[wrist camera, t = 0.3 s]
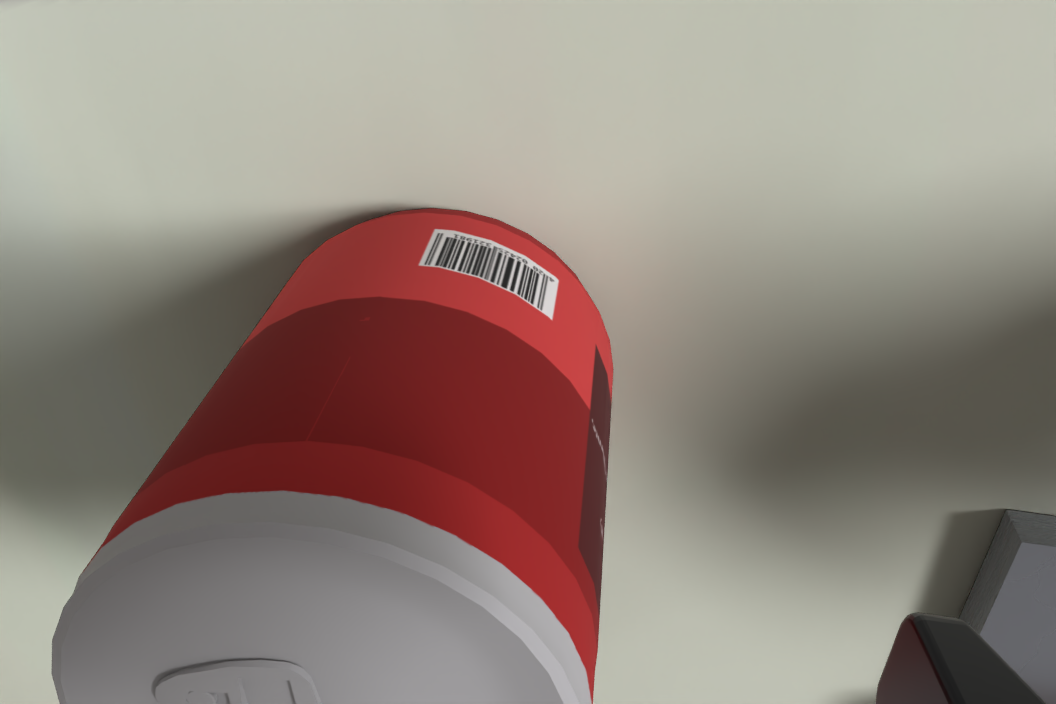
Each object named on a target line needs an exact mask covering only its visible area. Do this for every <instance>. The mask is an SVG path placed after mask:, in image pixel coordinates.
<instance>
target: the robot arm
mask: <svg viewBox="0 0 1056 704" xmlns="http://www.w3.org/2000/svg"><path fill="white" fill-rule="evenodd" d="M876 704H1047V703H1046V702H1045V701H1044V700H1043V699H1042V698H1041V697H1040V696H1039V695H1038V694H1037V693H1036V692H1035V691H1034V690H1033V689H1032V688H1031V687H1030V686H1029V685H1028V684H1027V683H1026V682H1025V681H1024V680H1023V679H1022V678H1021V677H1020V676H1019V675H1018V674H1017V673H1016V672H1015V671H1014V670H1013V669H1012V668H1011V667H1010V666H1009V665H1008V664H1007V663H1006V662H1005V660H1004V659H1003V658H1002V657H1001V656H1000V655H999V654H998V653H997V652H996V651H995V650H994V649H993V648H992V647H991V646H990V645H989V644H988V643H987V642H986V641H985V640H984V639H983V638H982V637H981V636H980V635H979V634H978V633H977V632H976V631H975V630H974V629H973V628H972V627H971V626H970V625H969V624H967V623H966V622H965V621H963V620H961V619H958V618H955V617H947V616H940V615H932V614H925V613H912V614H910V615H908V616H907V617H906V618H905V619H904V620H903V622H902V623H901V625H900V628H899V630H898V633H897V636H896V638H895V641H894V644H893V646H892V649H891V652H890V654H889V657H888V660H887V662H886V665H885V667H884V670H883V673H882V675H881V678H880V681H879V684H878V688H877V694H876Z"/></svg>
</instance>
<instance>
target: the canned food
mask: <svg viewBox="0 0 1056 704" xmlns="http://www.w3.org/2000/svg"><path fill="white" fill-rule="evenodd" d="M612 382H613V363H612V355H611V347H610V340H609V337H608V334H607V332H606V329H605V326H604V323H603V321H602V318H601V315H600V313H599V311H598V309H597V307H596V306H595V304H594V303H593V301H592V299H591V298H590V296H589V295H588V293H587V291H586V290H585V288H584V287H583V285H582V284H581V282H580V281H579V279H578V277H577V276H576V274H575V273H574V272H573V271H572V270H571V269H570V268H569V267H568V266H567V265H566V264H565V263H564V262H563V261H562V260H561V259H560V258H559V257H558V256H557V255H556V254H555V253H554V252H553V251H552V250H550V249H549V248H547V247H546V246H545V245H543V244H542V243H540V242H539V241H538V240H536V239H535V238H533V237H532V236H530V235H529V234H528V233H525V232H523V231H521V230H519V229H517V228H515V227H512V226H510V225H508V224H506V223H504V222H502V221H500V220H497V219H493V218H490V217H486V216H482V215H478V214H475V213H471V212H467V211H459V210H448V209H436V208H428V209H418V210H407V211H399V212H395V213H392V214H388V215H385V216H381V217H378V218H374V219H371V220H368V221H365V222H363V223H360V224H358V225H355V226H353V227H351V228H349V229H348V230H346V231H344V232H342V233H340V234H338V235H336V236H334V237H332V238H330V239H328V240H327V241H326V242H324V243H323V244H322V245H321V246H320V247H318V248H317V249H316V250H315V251H314V252H312V253H311V254H310V255H309V256H308V257H307V258H305V259H304V260H303V262H302V263H301V264H300V266H299V267H298V268H297V270H296V271H295V272H294V274H293V275H292V276H291V278H290V279H289V280H288V282H287V283H286V285H285V286H284V287H283V289H282V290H281V292H280V293H279V294H278V296H277V297H276V299H275V300H274V301H273V303H272V304H271V306H270V307H269V308H268V310H267V311H266V313H265V314H264V315H263V317H262V318H261V320H260V321H259V322H258V324H257V325H256V327H255V328H254V329H253V331H252V332H251V334H250V335H249V336H248V338H247V339H246V341H245V342H244V343H243V345H242V346H241V348H240V349H239V350H238V352H237V353H236V355H235V356H234V357H233V359H232V360H231V362H230V363H229V364H228V366H227V367H226V369H225V370H224V371H223V373H222V374H221V376H220V377H219V378H218V380H217V381H216V383H215V384H214V385H213V387H212V388H211V390H210V391H209V392H208V394H207V395H206V397H205V398H204V399H203V401H202V402H201V404H200V405H199V406H198V408H197V409H196V411H195V412H194V413H193V415H192V416H191V418H190V419H189V420H188V422H187V423H186V425H185V426H184V427H183V429H182V430H181V432H180V433H179V434H178V436H177V437H176V439H175V440H174V441H173V443H172V444H171V446H170V447H169V448H168V450H167V451H166V453H165V454H164V455H163V457H162V458H161V460H160V461H159V462H158V464H157V465H156V467H155V468H154V469H153V471H152V472H151V474H150V475H149V476H148V478H147V479H146V481H145V482H144V483H143V485H142V486H141V488H140V489H139V490H138V492H137V493H136V495H135V496H134V497H133V499H132V500H131V502H130V503H129V504H128V506H127V507H126V509H125V510H124V511H123V513H122V514H121V516H120V517H119V518H118V520H117V521H116V523H115V524H114V525H113V527H112V529H111V530H110V532H109V534H108V536H107V538H106V539H105V541H104V542H103V544H102V545H101V547H100V548H99V549H98V551H97V552H96V554H95V555H94V557H93V558H92V559H91V561H90V562H89V564H88V565H87V567H86V568H85V569H84V571H83V572H82V574H81V575H80V576H79V579H78V581H77V584H76V587H75V590H74V593H73V595H72V596H71V597H70V599H69V600H68V602H67V603H66V605H65V606H64V608H63V611H62V613H61V616H60V619H59V622H58V625H57V628H56V631H55V633H54V636H53V639H52V676H53V680H54V684H55V688H56V691H57V695H58V699H59V702H60V704H593V690H594V675H595V666H596V658H597V651H598V633H599V615H600V597H601V579H602V562H603V544H604V526H605V508H606V490H607V472H608V454H609V436H610V418H611V400H612Z"/></svg>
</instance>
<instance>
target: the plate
mask: <svg viewBox="0 0 1056 704" xmlns="http://www.w3.org/2000/svg"><path fill="white" fill-rule="evenodd" d="M959 619H961V620H963V621H965V622H966V623H967V624H969V625H970V626H971V627H972V628H973V629H974V630H975V631H976V632H977V633H978V634H979V635H980V636H981V637H982V638H983V639H984V640H985V641H986V642H987V643H988V644H989V645H990V646H991V647H992V648H993V649H994V650H995V651H996V652H997V653H998V654H999V655H1000V656H1001V657H1002V658H1003V659H1004V660H1005V662H1006V663H1007V664H1008V665H1009V666H1010V667H1011V668H1012V669H1013V670H1014V671H1015V672H1016V673H1017V674H1018V675H1019V676H1020V677H1021V678H1022V679H1023V680H1024V681H1025V682H1026V683H1027V684H1028V685H1029V686H1030V687H1031V688H1032V689H1033V690H1034V691H1035V692H1036V693H1037V694H1038V695H1039V696H1040V697H1041V698H1042V699H1043V700H1044V701H1045V702H1046V703H1047V704H1056V516H1050V515H1042V514H1035V513H1028V512H1021V511H1013V510H1006V512H1005V514H1004V516H1003V519H1002V521H1001V523H1000V525H999V528H998V530H997V532H996V535H995V537H994V539H993V541H992V544H991V546H990V548H989V551H988V553H987V555H986V558H985V560H984V562H983V564H982V567H981V569H980V571H979V574H978V576H977V578H976V580H975V583H974V585H973V587H972V590H971V592H970V594H969V597H968V599H967V601H966V603H965V606H964V608H963V610H962V613H961V615H960V617H959Z"/></svg>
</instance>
